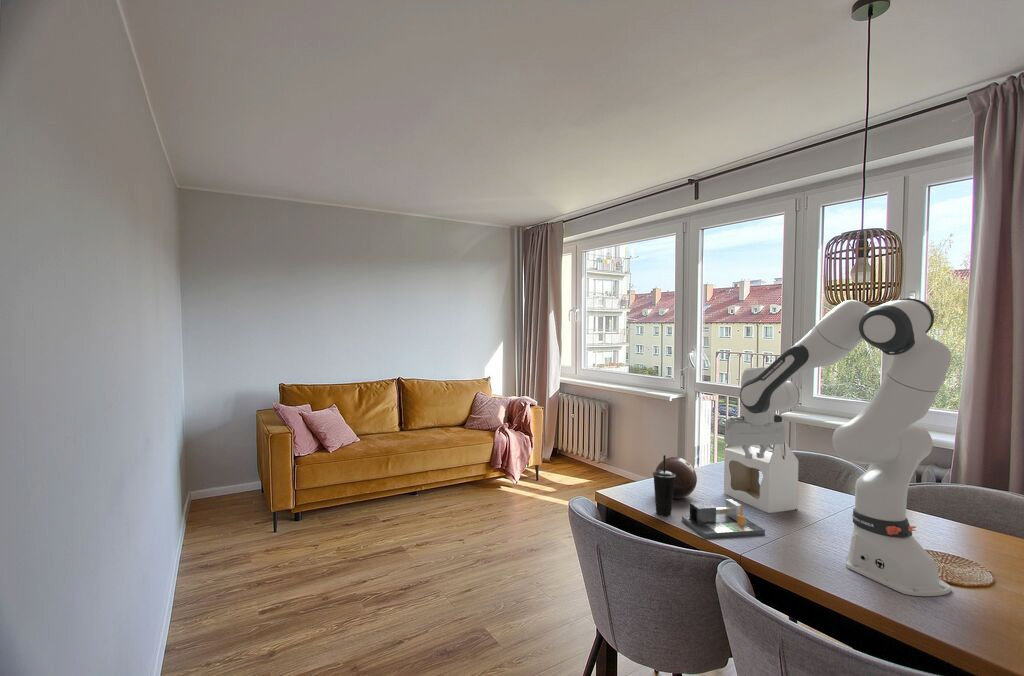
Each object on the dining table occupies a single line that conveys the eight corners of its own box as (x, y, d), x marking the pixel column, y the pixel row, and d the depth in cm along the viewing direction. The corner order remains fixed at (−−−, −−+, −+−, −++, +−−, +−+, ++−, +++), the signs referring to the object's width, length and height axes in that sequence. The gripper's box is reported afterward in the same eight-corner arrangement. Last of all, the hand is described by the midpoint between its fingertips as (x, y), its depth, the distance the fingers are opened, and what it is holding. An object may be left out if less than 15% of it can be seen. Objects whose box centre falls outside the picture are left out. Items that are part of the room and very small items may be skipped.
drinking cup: (679, 513, 172) (680, 455, 171) (669, 519, 166) (670, 459, 166) (658, 507, 177) (659, 451, 177) (648, 513, 171) (648, 455, 171)
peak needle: (744, 524, 157) (745, 505, 157) (741, 525, 157) (741, 505, 156) (740, 522, 159) (741, 503, 159) (737, 522, 158) (737, 503, 158)
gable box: (722, 493, 194) (724, 421, 193) (750, 490, 198) (751, 419, 197) (768, 513, 172) (770, 432, 172) (798, 509, 177) (800, 430, 176)
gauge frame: (764, 534, 155) (765, 514, 154) (704, 538, 151) (705, 517, 151) (737, 517, 168) (737, 498, 168) (681, 520, 165) (682, 501, 165)
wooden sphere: (697, 506, 179) (698, 464, 179) (653, 501, 183) (654, 460, 183) (695, 493, 193) (696, 454, 193) (655, 489, 198) (655, 451, 197)
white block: (747, 524, 158) (748, 508, 158) (718, 526, 156) (719, 510, 156) (731, 514, 167) (731, 499, 167) (703, 515, 165) (703, 500, 165)
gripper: (731, 418, 159) (731, 461, 160) (789, 417, 163) (788, 459, 163) (720, 415, 166) (719, 456, 166) (776, 413, 169) (775, 454, 169)
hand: (754, 458), depth 164 cm, fingers open, 3 cm apart
